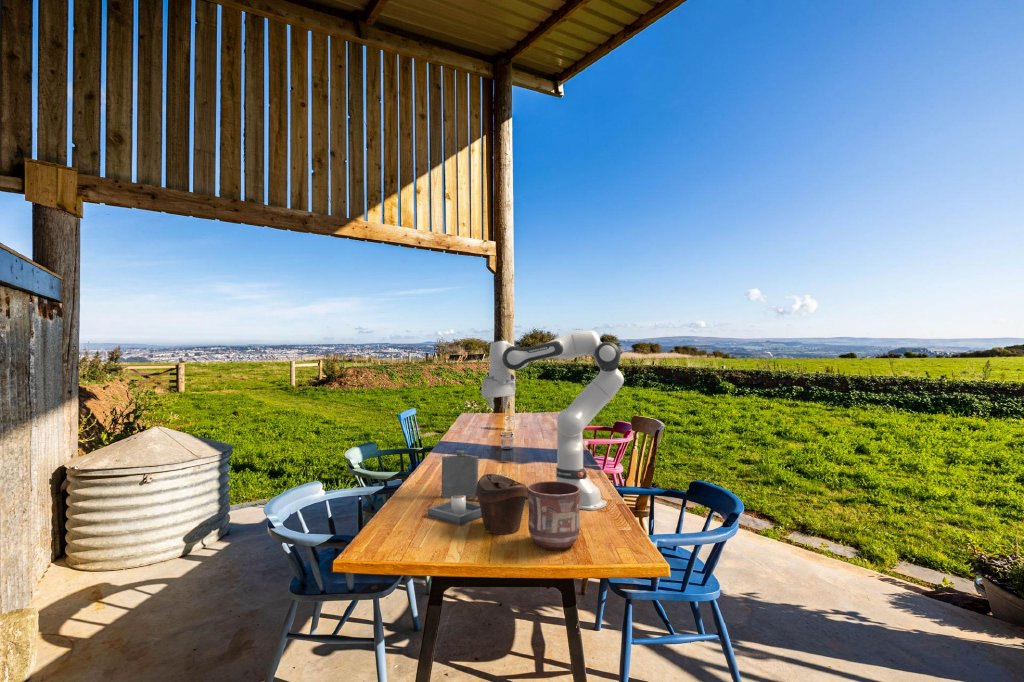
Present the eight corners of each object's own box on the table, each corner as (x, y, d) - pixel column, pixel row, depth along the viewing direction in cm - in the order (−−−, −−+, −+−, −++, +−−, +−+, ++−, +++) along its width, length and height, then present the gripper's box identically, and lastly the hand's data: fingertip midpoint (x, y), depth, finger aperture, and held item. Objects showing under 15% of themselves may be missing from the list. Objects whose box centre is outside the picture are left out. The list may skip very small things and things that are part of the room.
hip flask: (441, 498, 207) (441, 451, 208) (441, 495, 211) (442, 450, 212) (477, 497, 208) (478, 451, 209) (477, 495, 212) (478, 449, 213)
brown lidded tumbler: (526, 539, 157) (526, 484, 158) (468, 535, 161) (468, 481, 162) (534, 523, 174) (534, 473, 176) (481, 520, 178) (482, 471, 180)
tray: (488, 514, 183) (488, 506, 184) (460, 525, 171) (460, 517, 171) (457, 506, 194) (457, 499, 194) (427, 516, 181) (427, 508, 181)
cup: (468, 512, 183) (468, 496, 183) (458, 515, 179) (458, 499, 179) (458, 509, 186) (458, 493, 187) (448, 513, 182) (447, 496, 182)
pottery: (514, 543, 153) (515, 487, 154) (548, 530, 166) (549, 478, 167) (558, 559, 141) (559, 498, 142) (591, 543, 154) (591, 487, 155)
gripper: (489, 376, 204) (488, 408, 204) (517, 376, 221) (517, 406, 220) (478, 376, 208) (477, 408, 207) (507, 376, 224) (506, 405, 224)
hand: (498, 407), depth 214 cm, fingers open, 8 cm apart
